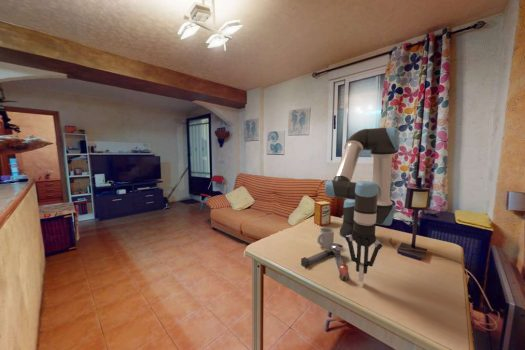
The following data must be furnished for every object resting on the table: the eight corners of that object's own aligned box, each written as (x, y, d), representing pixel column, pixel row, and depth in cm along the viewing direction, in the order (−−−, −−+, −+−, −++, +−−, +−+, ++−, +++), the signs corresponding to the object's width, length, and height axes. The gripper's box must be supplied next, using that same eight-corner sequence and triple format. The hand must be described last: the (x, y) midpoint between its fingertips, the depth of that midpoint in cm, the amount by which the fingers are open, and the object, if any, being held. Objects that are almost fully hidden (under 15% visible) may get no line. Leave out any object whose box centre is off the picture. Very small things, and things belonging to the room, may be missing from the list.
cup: (336, 246, 109) (336, 231, 108) (322, 250, 104) (322, 234, 103) (326, 241, 115) (327, 226, 114) (313, 244, 111) (313, 229, 110)
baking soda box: (323, 221, 148) (324, 200, 146) (330, 224, 142) (331, 202, 140) (314, 223, 144) (314, 202, 142) (320, 226, 138) (321, 204, 136)
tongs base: (332, 251, 104) (332, 244, 103) (342, 256, 99) (342, 248, 98) (301, 265, 91) (301, 256, 91) (310, 271, 86) (311, 263, 86)
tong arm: (329, 252, 102) (330, 242, 102) (341, 253, 101) (341, 243, 101) (336, 279, 81) (337, 267, 80) (351, 281, 79) (352, 269, 79)
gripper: (384, 222, 75) (380, 280, 77) (347, 216, 82) (345, 269, 85) (384, 229, 68) (379, 291, 71) (344, 221, 75) (341, 279, 78)
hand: (361, 279), depth 78 cm, fingers closed
